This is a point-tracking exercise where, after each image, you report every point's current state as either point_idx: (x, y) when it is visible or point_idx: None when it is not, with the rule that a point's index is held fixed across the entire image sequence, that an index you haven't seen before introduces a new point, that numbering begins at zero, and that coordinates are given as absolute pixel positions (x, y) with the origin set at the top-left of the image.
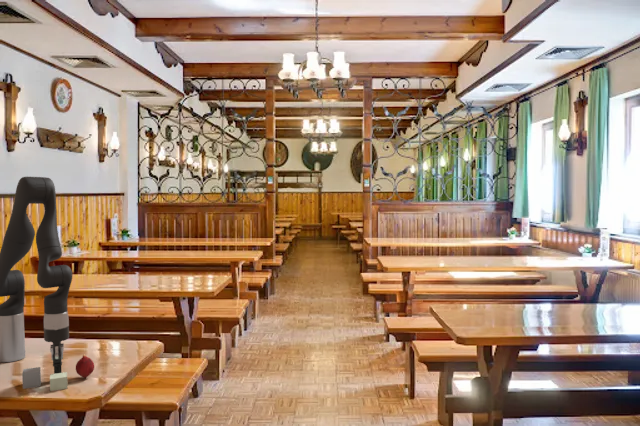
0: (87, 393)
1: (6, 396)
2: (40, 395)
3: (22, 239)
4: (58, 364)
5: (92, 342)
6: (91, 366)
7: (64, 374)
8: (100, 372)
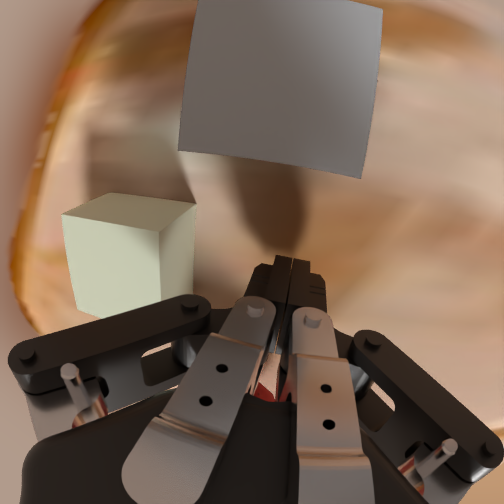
0: (54, 315)
1: None
2: (74, 142)
3: None
4: (172, 341)
5: None
6: None
7: (118, 312)
8: None
